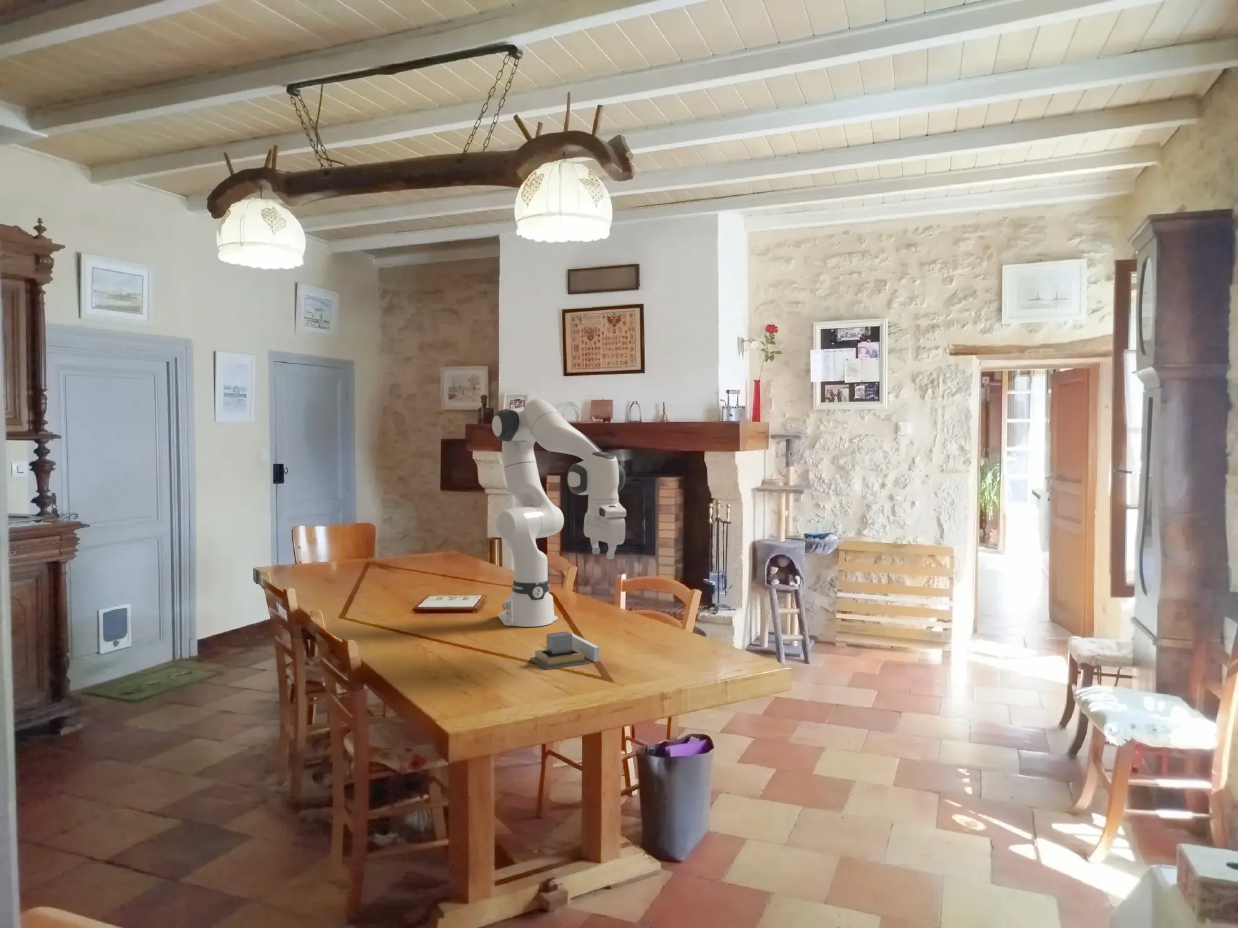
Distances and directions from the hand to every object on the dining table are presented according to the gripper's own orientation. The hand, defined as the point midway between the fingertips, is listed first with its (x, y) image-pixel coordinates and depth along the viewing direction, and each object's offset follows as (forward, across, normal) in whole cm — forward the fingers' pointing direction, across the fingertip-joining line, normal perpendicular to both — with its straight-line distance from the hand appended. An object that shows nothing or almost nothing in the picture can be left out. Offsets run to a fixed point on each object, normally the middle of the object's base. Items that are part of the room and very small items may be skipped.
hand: (603, 556), depth 241 cm
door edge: (+28, +1, -7) cm, 28 cm away
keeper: (+28, +5, -16) cm, 32 cm away
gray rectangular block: (+27, +5, -16) cm, 32 cm away
